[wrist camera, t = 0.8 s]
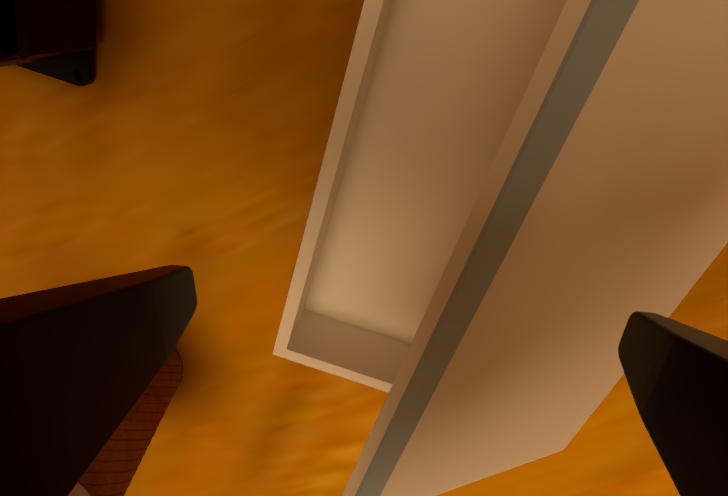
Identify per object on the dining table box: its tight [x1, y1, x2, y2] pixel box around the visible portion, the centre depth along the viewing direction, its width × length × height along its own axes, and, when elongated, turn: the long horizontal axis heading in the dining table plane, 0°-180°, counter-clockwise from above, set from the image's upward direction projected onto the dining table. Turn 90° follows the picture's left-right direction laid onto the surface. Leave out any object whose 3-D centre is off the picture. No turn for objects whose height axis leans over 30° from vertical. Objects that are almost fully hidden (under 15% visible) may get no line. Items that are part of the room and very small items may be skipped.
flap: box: [342, 0, 728, 496], centre depth 14 cm, size 12×21×1 cm
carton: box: [273, 0, 567, 393], centre depth 19 cm, size 14×22×4 cm, turn 164°
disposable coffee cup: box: [68, 348, 183, 496], centre depth 25 cm, size 10×10×12 cm
